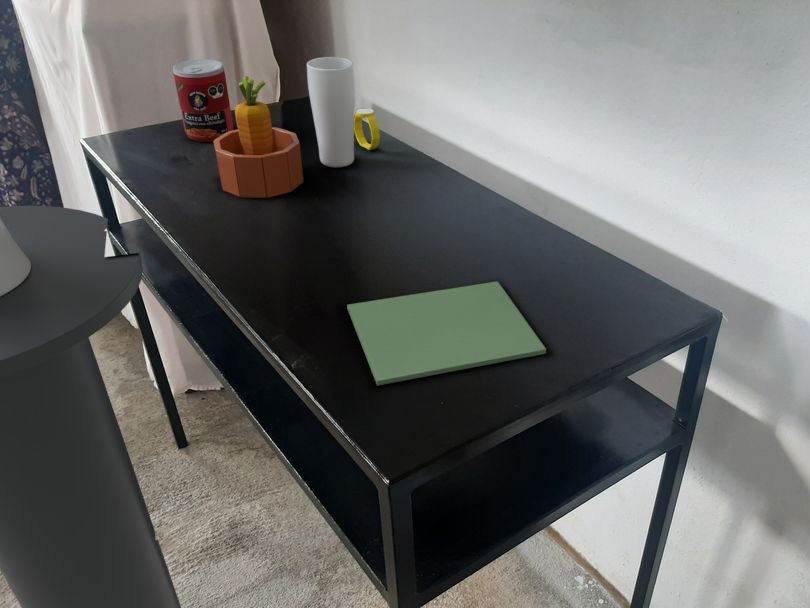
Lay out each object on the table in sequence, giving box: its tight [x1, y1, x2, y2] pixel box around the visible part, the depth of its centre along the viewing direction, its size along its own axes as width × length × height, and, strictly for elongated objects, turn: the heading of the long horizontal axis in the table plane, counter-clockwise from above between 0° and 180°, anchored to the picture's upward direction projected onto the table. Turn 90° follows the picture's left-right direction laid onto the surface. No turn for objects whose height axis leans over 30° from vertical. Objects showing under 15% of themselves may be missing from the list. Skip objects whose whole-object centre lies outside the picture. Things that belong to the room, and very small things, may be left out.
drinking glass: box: [306, 56, 356, 169], centre depth 109 cm, size 7×7×15 cm
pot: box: [213, 126, 304, 199], centre depth 106 cm, size 12×12×6 cm
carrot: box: [234, 75, 273, 155], centre depth 103 cm, size 5×5×15 cm
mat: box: [346, 281, 547, 386], centre depth 78 cm, size 18×14×1 cm
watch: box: [354, 108, 381, 151], centre depth 117 cm, size 6×3×6 cm, turn 37°
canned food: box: [172, 58, 234, 143], centre depth 118 cm, size 8×8×11 cm
